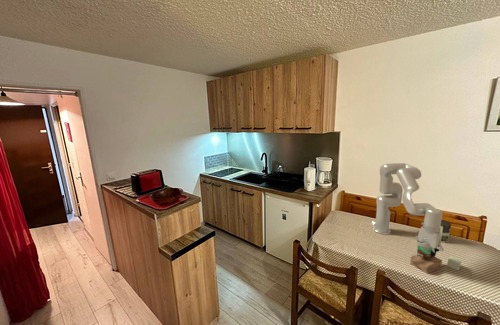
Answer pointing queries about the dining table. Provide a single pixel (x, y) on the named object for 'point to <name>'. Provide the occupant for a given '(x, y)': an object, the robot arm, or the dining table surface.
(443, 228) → the coffee can
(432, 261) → the walnut block
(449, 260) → the sage block
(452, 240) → the dining table surface
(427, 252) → the food container
